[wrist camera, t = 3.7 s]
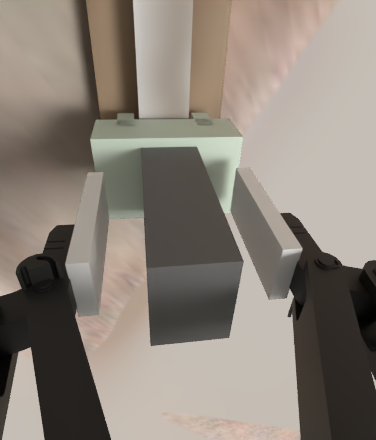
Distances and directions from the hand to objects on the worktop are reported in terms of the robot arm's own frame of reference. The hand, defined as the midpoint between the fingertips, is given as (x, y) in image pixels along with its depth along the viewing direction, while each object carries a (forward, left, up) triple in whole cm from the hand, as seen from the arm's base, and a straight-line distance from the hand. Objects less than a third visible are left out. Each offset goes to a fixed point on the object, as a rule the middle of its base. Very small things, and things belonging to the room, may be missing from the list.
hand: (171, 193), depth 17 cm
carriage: (0, 0, -6) cm, 6 cm away
